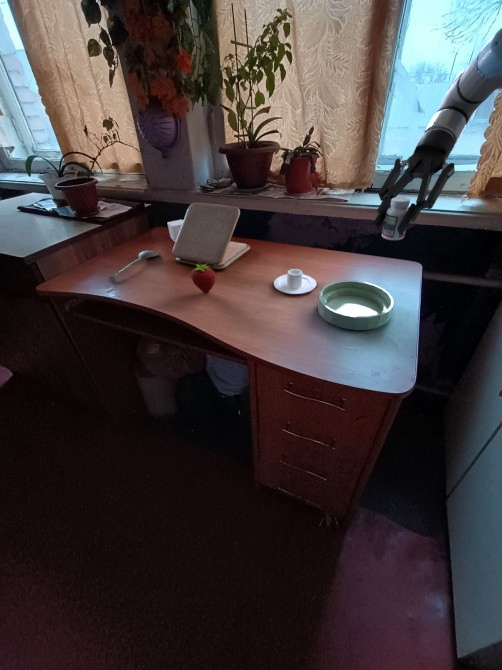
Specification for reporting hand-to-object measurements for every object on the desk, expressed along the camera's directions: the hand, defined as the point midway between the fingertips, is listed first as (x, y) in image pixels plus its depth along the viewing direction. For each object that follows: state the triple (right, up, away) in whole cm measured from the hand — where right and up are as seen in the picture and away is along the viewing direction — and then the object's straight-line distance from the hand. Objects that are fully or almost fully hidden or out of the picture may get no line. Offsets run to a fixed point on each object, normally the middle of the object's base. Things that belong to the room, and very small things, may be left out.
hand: (387, 229), depth 74 cm
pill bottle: (+3, -1, +4) cm, 5 cm away
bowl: (-7, -19, +3) cm, 21 cm away
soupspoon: (-71, -2, +31) cm, 78 cm away
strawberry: (-45, -14, +14) cm, 49 cm away
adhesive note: (-61, +13, +51) cm, 80 cm away
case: (-46, +2, +35) cm, 57 cm away
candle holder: (-20, -11, +15) cm, 27 cm away
